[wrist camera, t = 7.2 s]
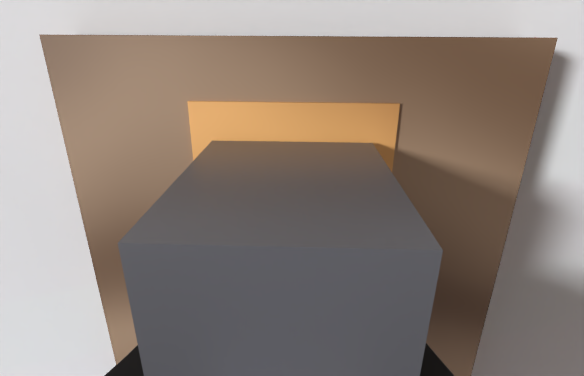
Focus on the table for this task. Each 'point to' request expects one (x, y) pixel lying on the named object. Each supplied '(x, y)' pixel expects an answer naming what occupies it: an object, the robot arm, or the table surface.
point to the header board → (307, 137)
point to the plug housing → (282, 266)
